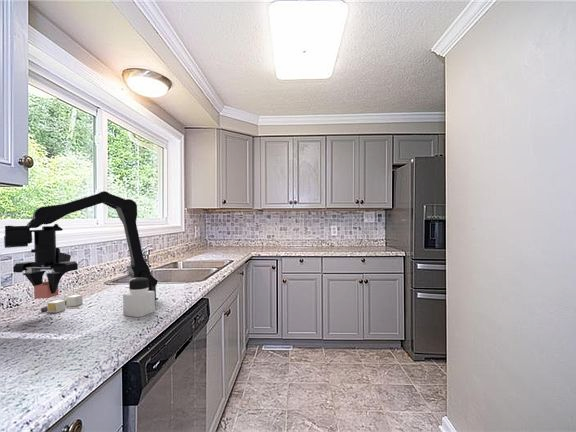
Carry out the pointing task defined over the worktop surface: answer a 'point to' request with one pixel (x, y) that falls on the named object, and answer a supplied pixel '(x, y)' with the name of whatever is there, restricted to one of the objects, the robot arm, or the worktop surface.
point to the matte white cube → (56, 306)
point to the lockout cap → (44, 291)
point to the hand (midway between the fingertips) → (46, 293)
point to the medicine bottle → (138, 298)
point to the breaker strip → (47, 308)
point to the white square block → (74, 300)
